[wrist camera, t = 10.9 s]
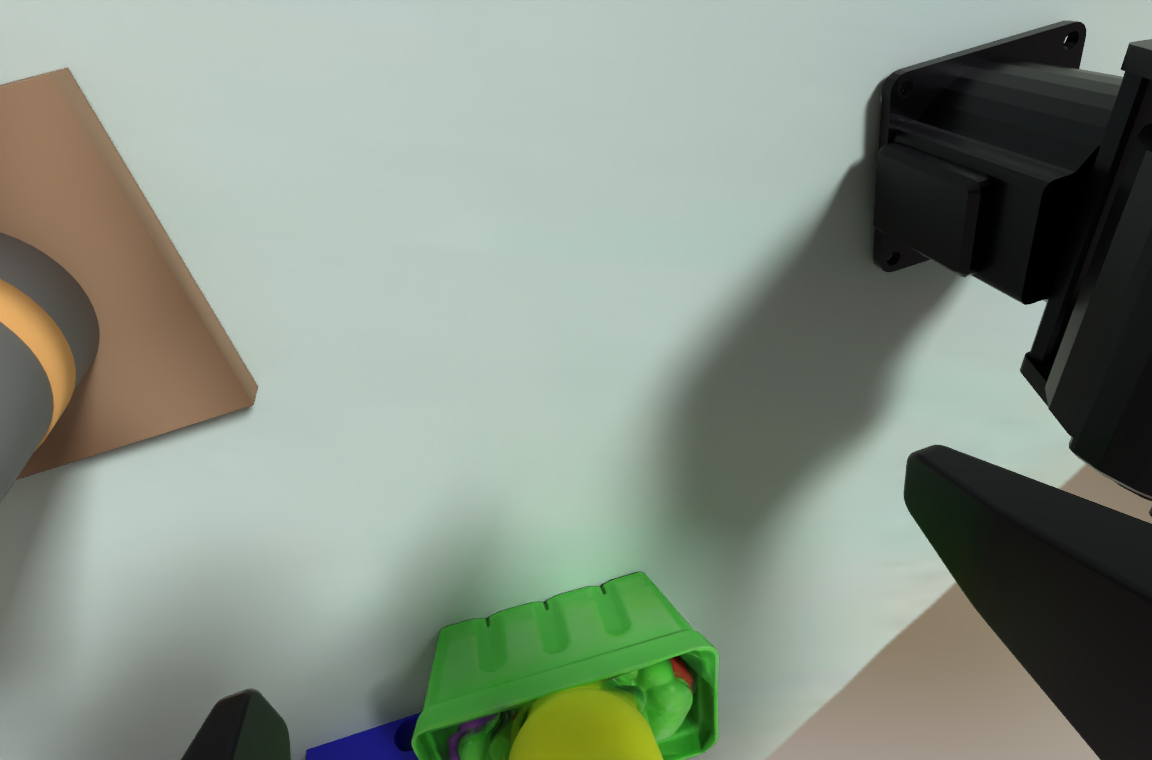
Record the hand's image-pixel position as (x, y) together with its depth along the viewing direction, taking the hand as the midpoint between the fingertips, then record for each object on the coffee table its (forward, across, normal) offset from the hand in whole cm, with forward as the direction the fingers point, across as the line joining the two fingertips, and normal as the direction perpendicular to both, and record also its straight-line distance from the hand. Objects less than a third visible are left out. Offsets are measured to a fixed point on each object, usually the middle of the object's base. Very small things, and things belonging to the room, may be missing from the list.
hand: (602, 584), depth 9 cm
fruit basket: (+13, +2, +18) cm, 22 cm away
